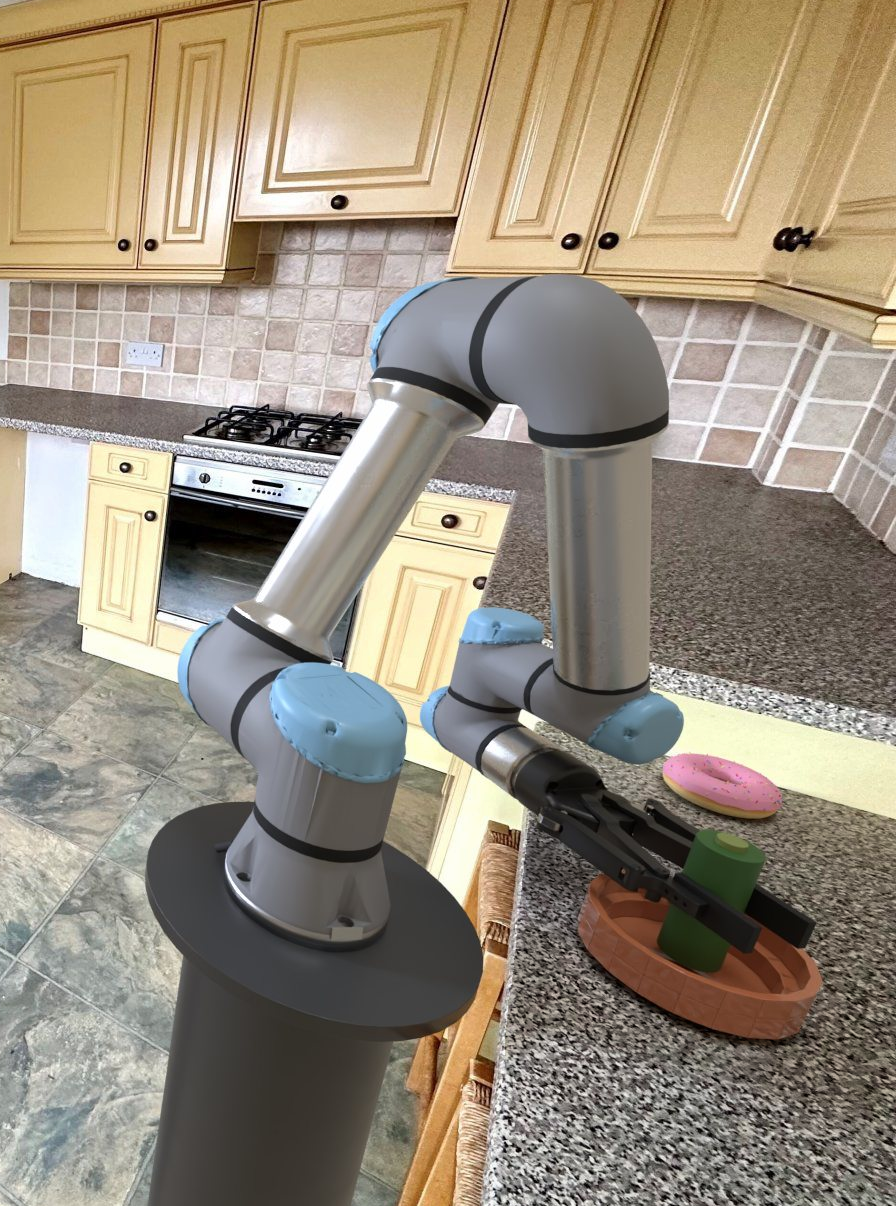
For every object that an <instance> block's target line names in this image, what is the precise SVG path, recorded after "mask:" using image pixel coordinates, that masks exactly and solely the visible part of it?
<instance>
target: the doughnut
mask: <svg viewBox="0 0 896 1206" xmlns="http://www.w3.org/2000/svg"><path fill="white" fill-rule="evenodd" d="M662 778H663V780H664V782H665V784H666V785H667V786H668V787H669V788H670V789H671V790H672V791H673V792H674V793H676V794H677V795H678V796H679V797H682V798H683V799H684V800H686V801H689V802H690V803H692V804H694V805H697V806H699V807H701V808H704V809H706V810H709V811H712V812H715V813H718V814H721V815H725V816H730V817H734V818H739V819H740V818H741V819H763V818H768V817H771V816H773V815H774V814H775V813H776V812H777V811H778V810H779V809H781V808H782V806H783V797H784V796H783V795H782V793H781V789H780V788H778V786H777V785H776V784H775V783H774V782H773V781H771V780H770V779H769V778H768V777H767V776H765V775H763V774H762V773H760V772H758V771H756V770H754V769H752V768H750V767H748V766H745V765H744V764H743V763H741V764H740V763H738V762H736V761H735V760H733V761H732V760H729V759H725V758H722V757H719V756H715V755H709V754H708V753H706V754H702V753H691V751H688V753H687V752H686V753H678V754H677V755H674V756H673V755H671V756H670V758H668V759H667V760H666V761H665V762H664V764H663V765H662Z"/></svg>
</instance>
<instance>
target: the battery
mask: <svg viewBox="0 0 896 1206" xmlns="http://www.w3.org/2000/svg"><path fill="white" fill-rule="evenodd" d="M766 860H767V856H766V853H764V852H763V851H762V849H760V848H759V847H758V846H756V845H755V844H753V843H751V842H750V841H748V840H745V839H744V838H741V837H740V836H737V835H734V834H732V833H728V832H723V831H719V830H713V829H701V830H700V831H698V832H697V834H696V836H695V839H694V841H693V844H692V847H691V849H690V852H689V855H688V858H687V860H686V863H685V866H684V868H683V869H682V870H681V873H684V874H685V875H687V876H688V877H690V878H691V879H692V880H694V881H695V882H697V883H698V884H700V885H701V886H703V887H704V888H706V889H707V890H709V891H710V892H712V893H713V894H715V895H716V896H718V897H719V898H720V899H722V900H723V901H725V902H726V903H728V904H729V905H731V906H732V907H734V908H735V909H737V910H738V911H740V912H741V913H743V914H744V911H745V909H746V907H747V904H748V902H749V899H750V897H751V895H752V892H753V890H754V887H755V885H756V884H757V883H758V881H759V878H760V875H761V872H762V870H763V868H764V866H765V863H766ZM657 944H658V946H659V948H660V949H661V950H662V951H663V952H664V953H665V954H666V955H667V956H669V957H670V958H672V959H673V960H675V961H676V962H678V963H680V964H682V965H684V966H686V967H689V968H691V969H694V970H697V971H701V972H707V973H714V972H718V971H719V970H720V969H721V967H722V965H723V962H724V960H725V957H726V955H727V953H728V950H729V948H730V945H731V944H730V943H728V942H727V941H725V940H724V939H723V938H721V937H720V936H718V935H717V934H716V933H714V932H713V931H712V930H710V929H709V928H707V927H706V926H705V925H703V924H702V923H700V922H699V921H698V920H696V919H695V918H693V917H691V916H689V915H688V914H686V913H684V912H683V911H682V910H680V909H679V908H678V907H676V906H675V905H673V904H672V903H670V906H669V908H668V911H667V914H666V916H665V919H664V922H663V924H662V927H661V930H660V932H659V935H658V938H657Z"/></svg>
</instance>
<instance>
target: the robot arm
mask: <svg viewBox="0 0 896 1206" xmlns="http://www.w3.org/2000/svg"><path fill="white" fill-rule="evenodd" d="M369 349H370V350H372V354H371V355H370V356H369V365H370V367H371V369H372V372H373V374H372V376H371V377H370V379H369V380H368V381H367V384H366V387H367V391H368V394H369V397H370V400H371V406H370V408H369V409H368V411H367V412H366V414H365V416H364V418H363V419H362V421H361V423H360V424H359V426H358V427H357V429H356V431H355V433H354V434H353V436H352V438H351V439H350V441H349V442H348V444H347V446H346V447H345V449H344V450H343V452H342V453H341V455H340V457H339V458H338V461H337V462H336V464H335V465H334V467H333V468H332V470H331V471H330V473H329V475H328V476H327V478H326V480H325V482H323V484H322V486H321V488H320V490H319V492H318V493H317V495H316V496H315V498H314V499H313V501H312V503H311V505H310V506H309V508H308V509H307V511H306V512H305V514H304V516H303V518H302V519H301V521H300V522H299V524H298V526H297V527H296V529H295V531H294V533H292V536H291V537H290V539H289V541H288V542H287V544H286V545H285V547H284V548H283V550H282V551H281V554H280V555H279V557H278V559H277V560H276V561H275V563H274V565H273V567H272V568H271V570H270V572H269V573H268V575H267V576H266V578H265V579H264V581H263V582H262V584H261V586H260V587H259V589H258V591H257V592H256V594H255V596H254V597H252V598H250V599H248V600H244V601H240V602H237V603H236V602H235V603H233V605H232V606H231V608H230V609H229V611H228V612H227V614H226V616H225V617H224V618H218V619H213V620H211V621H209V624H208V625H207V624H206V625H201V626H200V627H198V628H197V629H196V630H195V631H193V633H192V634H191V635H190V636H189V637H188V638H187V640H186V642H185V643H184V645H183V647H182V649H181V652H180V655H179V658H178V661H177V682H178V685H179V689H180V692H181V694H182V697H183V698H184V700H185V701H186V703H187V704H189V706H190V707H191V708H192V710H193V711H194V713H195V715H196V716H197V717H198V718H199V719H200V720H201V722H203V723H204V724H205V725H207V726H209V727H211V728H212V729H213V730H214V731H215V732H216V733H217V735H219V736H220V737H221V738H222V739H223V740H224V741H225V742H226V743H228V745H229V746H231V747H232V749H234V751H236V752H237V753H238V754H239V755H240V756H241V757H242V758H244V759H245V760H246V762H248V764H250V765H251V766H252V767H253V768H254V769H255V770H256V772H257V782H256V789H255V795H254V801H253V802H254V806H253V811H252V813H251V815H250V816H249V818H248V819H247V821H246V822H245V824H244V825H243V827H242V829H241V830H240V832H239V833H238V835H237V836H236V838H235V839H234V841H229V842H224V843H218V844H215V847H214V848H215V851H216V852H217V853H221V852H227V854H226V859H225V866H224V872H223V877H224V883H225V886H226V889H227V891H228V893H229V895H230V896H231V898H232V899H233V901H234V902H235V904H236V905H237V906H238V907H239V908H240V909H241V910H242V911H243V912H244V913H245V914H246V915H247V916H248V917H249V918H250V919H252V920H253V921H254V922H256V923H257V924H258V925H260V926H261V927H263V928H264V929H266V930H268V931H270V932H271V933H273V934H275V935H277V936H279V937H281V938H283V939H286V940H288V941H290V942H293V943H296V944H299V945H302V946H305V947H309V948H313V949H318V950H324V951H335V952H345V951H355V950H359V949H363V948H366V947H368V946H370V945H372V944H374V943H375V942H377V941H378V940H379V939H380V938H381V937H382V935H383V934H384V932H385V930H386V926H387V922H388V918H389V914H390V908H391V904H390V898H389V893H388V887H387V882H386V876H385V871H384V865H383V859H382V854H381V848H382V844H383V841H384V839H385V835H386V831H387V828H388V823H389V819H390V815H391V812H392V808H393V804H394V800H395V796H396V793H397V788H398V784H399V781H400V776H401V772H402V769H403V766H404V764H405V757H406V754H407V748H406V745H407V744H406V742H407V741H406V740H407V736H408V719H407V716H406V713H405V710H404V708H403V707H402V705H401V704H400V702H399V701H398V700H397V699H396V698H395V696H394V695H393V694H392V693H390V691H388V690H387V689H386V688H385V687H384V686H382V685H381V684H379V683H377V682H376V681H375V680H373V679H371V678H369V677H368V676H365V675H363V674H361V673H359V672H356V671H352V672H349V671H346V670H345V668H344V667H342V666H338V665H333V664H332V662H333V661H334V659H335V657H334V654H333V651H332V647H331V644H330V637H331V636H332V634H333V632H334V631H335V629H336V628H337V626H338V624H339V623H340V621H341V620H342V618H343V617H344V615H345V613H346V612H347V610H348V609H349V608H350V606H351V604H352V603H353V601H354V600H355V599H356V597H357V595H358V594H359V592H360V590H361V589H362V587H363V586H364V584H365V583H366V581H367V579H368V578H369V576H370V574H371V573H372V571H374V569H375V567H376V565H377V564H378V562H379V561H380V559H381V557H382V556H383V555H384V553H385V551H386V550H387V548H388V547H389V545H390V543H391V542H392V540H393V539H394V537H395V535H396V534H397V532H398V531H399V529H400V527H402V525H403V523H404V521H405V520H406V519H407V517H408V515H409V514H410V512H411V510H412V509H413V508H414V506H415V505H416V503H417V501H418V500H419V498H420V496H421V495H422V493H423V492H424V490H425V489H426V487H427V485H428V484H429V483H430V481H431V479H432V478H433V476H434V475H435V473H436V472H437V470H438V469H439V467H440V465H441V464H442V463H443V460H445V457H446V456H447V454H448V453H449V451H450V450H451V448H452V447H453V445H454V443H455V442H456V440H458V439H460V438H463V437H466V436H469V435H473V434H476V433H480V432H481V431H482V430H483V429H484V428H485V426H486V425H487V423H488V422H489V420H490V419H491V417H492V416H493V413H494V412H495V411H496V409H497V407H498V405H499V404H505V405H512V406H517V407H518V408H520V409H521V411H522V413H523V414H524V416H525V417H526V421H527V439H528V441H529V442H530V443H531V444H532V445H534V446H536V447H538V448H539V449H541V450H542V463H543V465H542V466H543V479H544V481H543V482H544V483H543V484H544V501H545V519H546V523H545V524H546V539H547V556H548V557H547V559H548V561H547V562H548V579H549V599H550V619H551V620H550V621H551V639H552V647H550V646H548V645H545V644H543V641H544V639H545V637H544V631H545V626H544V623H542V622H541V621H540V620H539V619H537V618H536V617H535V616H533V615H530V614H528V613H525V612H523V611H520V610H515V609H511V608H510V609H509V608H504V607H494V606H493V607H491V606H487V607H479V608H476V609H474V610H472V611H471V612H470V613H469V614H468V616H467V618H466V620H465V624H464V627H463V631H462V634H461V636H460V637H459V639H458V647H457V651H456V655H455V661H454V663H453V664H454V665H453V669H452V674H451V677H450V682H449V685H446V686H441V687H439V688H437V689H435V690H434V691H432V692H431V693H430V694H429V695H428V699H427V700H426V701H425V702H423V703H422V705H421V707H420V711H419V721H420V724H421V726H422V728H423V730H424V731H425V732H426V734H427V735H429V736H430V737H431V738H433V739H434V740H435V741H436V742H437V743H438V744H439V746H441V747H442V748H443V749H444V750H446V751H448V752H449V753H450V754H453V755H454V756H456V757H457V758H458V759H460V760H462V761H463V762H464V763H466V764H467V765H469V766H470V767H471V768H473V769H475V771H477V772H479V773H480V774H481V776H483V777H484V778H486V779H488V780H489V781H491V782H492V783H493V784H495V785H496V786H497V787H499V788H500V789H501V790H503V792H505V793H507V794H508V795H509V796H510V797H512V798H513V799H515V800H517V801H518V802H519V804H521V805H522V806H523V807H525V808H526V809H527V810H529V811H530V812H531V813H533V814H534V815H535V816H537V820H536V824H535V828H536V829H537V830H539V831H540V832H542V833H544V834H546V835H548V836H550V837H551V838H554V839H556V840H558V841H559V842H560V843H562V844H563V845H564V846H566V847H567V848H569V849H570V850H571V851H572V852H574V853H575V854H577V855H578V856H580V857H581V858H582V859H583V860H585V861H586V862H588V864H590V865H591V866H593V867H594V868H595V869H597V870H598V871H600V872H601V873H602V874H603V873H604V874H605V875H607V876H608V877H609V878H611V879H612V880H613V881H615V882H616V883H618V884H619V885H620V886H622V887H623V888H624V889H626V890H628V891H631V892H638V889H639V888H641V889H645V890H646V894H645V896H644V898H646V899H647V900H649V901H652V902H656V903H658V902H660V900H661V897H664V898H665V899H666V900H668V901H669V902H671V903H672V904H673V905H675V906H676V907H678V908H679V909H680V910H682V911H683V912H684V913H686V914H688V915H689V916H691V917H693V918H695V919H696V920H698V921H699V922H700V923H702V924H703V925H705V926H706V927H707V928H709V929H710V930H712V931H713V932H714V933H716V934H717V935H718V936H720V937H721V938H723V939H724V940H725V941H727V942H728V943H730V944H731V945H732V946H734V947H735V948H736V949H738V950H739V951H741V952H742V953H743V954H747V953H752V951H753V949H754V947H755V944H756V942H757V940H758V937H759V935H760V933H761V930H762V928H763V927H762V926H760V925H759V924H757V923H756V922H754V921H753V920H751V919H750V918H748V917H747V916H746V915H744V914H743V913H741V912H740V911H738V910H737V909H735V908H734V907H732V906H731V905H729V904H728V903H726V902H725V901H723V900H722V899H720V898H719V897H718V896H716V895H715V894H713V893H712V892H710V891H709V890H707V889H706V888H704V887H703V886H701V885H700V884H698V883H697V882H695V881H694V880H692V879H691V878H690V877H688V876H687V875H685V874H684V873H682V872H675V873H674V874H673V877H671V871H670V870H669V869H668V868H667V867H666V866H664V865H663V864H662V863H661V862H660V861H659V860H658V859H657V858H656V857H654V856H653V854H655V855H656V856H659V857H660V858H662V859H664V860H666V861H668V862H669V863H671V864H674V865H675V866H677V867H678V868H680V869H682V870H683V868H684V866H685V863H686V860H687V858H688V855H689V852H690V849H691V847H692V844H693V841H694V839H695V836H696V834H697V832H698V831H701V830H700V829H698V828H697V827H695V826H693V825H692V824H690V823H688V822H687V821H686V820H684V819H682V818H681V817H680V816H677V815H676V814H675V813H673V812H671V811H670V810H669V808H667V807H666V805H664V804H663V803H662V802H661V801H659V800H657V799H655V798H647V799H646V800H645V804H641V803H634V802H631V801H630V800H629V799H628V798H626V797H624V796H622V795H620V794H617V793H615V792H612V791H611V790H608V788H607V787H606V785H605V783H604V781H603V779H602V777H601V775H600V773H599V772H598V771H597V770H596V769H595V768H594V767H592V766H591V765H589V764H587V763H585V762H584V761H582V760H581V759H579V758H577V757H576V756H574V755H573V754H571V753H570V752H567V751H565V750H564V748H562V747H560V746H559V745H557V744H556V743H554V742H552V741H550V740H549V739H547V738H545V737H544V736H542V735H541V734H538V733H537V732H535V731H533V730H532V729H531V728H529V727H527V725H524V724H523V723H521V722H520V721H519V718H520V715H521V712H522V710H523V711H525V712H526V713H529V714H531V715H532V716H535V717H537V718H538V719H540V720H542V721H544V722H546V723H547V724H549V725H551V726H553V727H555V728H556V729H557V730H560V731H561V732H564V733H565V734H567V735H569V736H570V737H572V738H574V739H576V740H578V741H580V742H581V743H583V744H585V745H587V746H588V747H589V748H591V749H593V750H596V751H599V752H601V753H603V754H605V755H608V756H610V757H612V758H614V759H616V760H619V761H621V762H624V763H626V764H630V765H645V764H649V763H652V762H653V761H655V760H657V759H661V758H662V757H664V756H665V755H666V754H668V752H670V751H671V750H672V749H673V747H674V746H675V745H676V744H677V743H678V741H679V739H680V737H681V735H682V732H683V730H684V726H685V725H684V724H685V717H684V713H683V712H682V711H681V709H680V708H679V706H678V705H677V703H675V702H674V701H672V700H670V699H668V698H667V697H665V696H664V694H662V693H659V692H656V691H653V690H651V671H650V667H651V665H650V661H651V660H650V656H651V655H650V654H651V651H650V650H651V584H652V583H651V582H652V581H651V580H652V579H651V577H652V576H651V573H652V571H651V570H652V505H653V504H652V500H653V499H652V496H653V495H652V494H653V493H652V492H653V491H652V490H653V487H652V485H653V441H654V440H655V439H657V438H658V437H660V436H661V435H663V434H664V433H665V432H666V431H667V429H668V428H669V425H670V424H669V423H670V391H669V384H668V380H667V374H666V369H665V365H664V363H663V359H662V357H661V354H660V351H659V348H658V346H657V343H656V342H655V339H654V337H653V335H652V333H651V331H650V329H649V328H648V326H647V325H646V323H645V321H644V320H643V318H642V317H641V316H640V314H639V312H637V311H636V310H635V309H634V308H633V306H632V305H631V304H630V303H629V301H628V300H627V299H626V298H625V297H623V296H622V295H620V294H619V293H618V292H616V291H615V290H614V289H613V288H611V287H610V286H607V285H606V284H604V283H602V282H600V281H597V280H594V279H592V278H589V277H586V276H581V275H578V274H577V275H576V274H567V273H551V274H550V273H549V274H543V275H527V276H500V277H477V276H456V277H455V276H454V277H450V278H446V279H443V280H436V281H430V282H426V283H423V284H421V285H418V286H415V287H413V288H411V289H409V290H408V291H406V292H405V293H403V294H402V295H401V296H399V297H397V299H396V300H394V302H392V303H391V305H390V306H389V307H388V308H387V309H386V310H385V311H384V313H383V314H382V315H381V317H380V318H379V320H378V322H377V323H376V326H375V328H374V330H373V332H372V335H371V339H370V343H369ZM648 851H649V852H648ZM650 852H651V853H653V854H651V853H650ZM622 871H625V874H623V873H622ZM744 913H745V914H747V915H748V916H750V917H751V918H753V919H754V920H756V921H757V922H758V923H760V924H761V925H763V926H764V927H766V928H767V929H769V930H770V931H772V932H773V933H775V934H776V935H778V936H779V937H781V938H782V939H784V940H785V941H787V942H788V943H790V944H791V945H793V946H794V947H795V948H797V949H802V948H803V949H806V948H807V946H808V943H809V941H810V939H811V936H812V935H813V933H814V930H815V927H816V925H817V924H818V922H817V921H816V920H814V919H812V918H811V917H809V916H808V915H807V914H804V913H803V912H801V911H799V909H797V908H795V907H794V906H792V905H790V904H789V903H787V902H786V901H784V900H782V899H781V898H779V897H778V896H776V895H775V894H774V893H772V892H770V891H769V890H767V888H765V887H763V886H761V885H759V884H758V883H756V885H755V887H754V890H753V892H752V895H751V897H750V899H749V902H748V904H747V907H746V909H745V911H744Z"/></svg>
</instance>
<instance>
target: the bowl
mask: <svg viewBox="0 0 896 1206" xmlns="http://www.w3.org/2000/svg"><path fill="white" fill-rule="evenodd" d="M622 873H623V874H625V870H622ZM645 894H646V890H645V889H641V888H639V889H638V892H631V891H628V890H626V889H624V888H623V887H622V886H620V885H619V884H618V883H616V882H615V881H613V880H612V879H611V878H609V877H608V876H607V875H605V874H604V873H603V872H602V873H600V874H598V875H597V876H596V877H595V878H594V879H593V880H592V881H590V882H589V884H588V887H587V889H586V892H585V896H584V898H583V901H582V904H581V907H580V910H579V913H578V916H577V933H578V936H579V937H580V939H581V941H582V942H583V944H584V946H585V948H586V950H587V951H588V952H589V953H590V955H592V957H593V958H595V959H596V961H597V962H598V963H599V964H600V965H601V966H602V967H603V968H604V969H605V970H606V971H607V972H608V973H610V974H611V975H612V976H614V977H615V978H616V979H617V980H619V981H620V982H622V983H623V985H626V986H627V987H628V988H629V989H631V990H632V991H633V992H635V993H637V994H638V995H640V996H641V997H642V998H644V999H646V1000H648V1001H649V1002H651V1003H652V1004H654V1005H656V1006H657V1007H660V1008H661V1009H664V1010H665V1011H668V1012H670V1013H672V1014H673V1015H676V1016H678V1017H681V1018H683V1019H685V1020H687V1021H690V1022H692V1023H695V1024H698V1025H699V1026H703V1027H705V1028H708V1029H711V1030H715V1031H719V1032H723V1033H727V1034H731V1035H735V1036H739V1037H742V1038H745V1039H746V1038H747V1039H760V1040H762V1039H763V1040H782V1039H785V1038H787V1037H790V1036H793V1035H796V1034H798V1033H799V1032H800V1030H801V1029H802V1026H803V1024H804V1022H805V1020H806V1018H807V1016H808V1014H809V1012H810V1010H811V1008H812V1006H813V1004H814V1001H815V1000H816V997H817V995H818V993H819V991H820V989H821V987H822V985H823V978H822V976H821V973H820V971H819V968H818V965H817V963H816V962H815V961H814V960H813V959H812V957H811V955H809V954H808V953H807V952H806V950H805V949H804V948H802V949H797V948H795V947H794V946H793V945H791V944H790V943H788V942H787V941H785V940H784V939H782V938H781V937H779V936H778V935H776V934H775V933H773V932H772V931H770V930H769V929H767V928H766V927H764V926H763V925H761V924H760V923H758V922H757V921H756V920H754V919H753V918H751V917H750V916H748V915H747V914H745V913H744V915H746V916H747V917H748V918H750V919H751V920H753V921H754V922H756V923H757V924H759V925H760V926H762V927H763V928H762V930H761V933H760V935H759V937H758V940H757V942H756V944H755V947H754V949H753V951H752V953H747V954H743V953H742V952H741V951H739V950H738V949H736V948H735V947H734V946H732V945H730V948H729V950H728V953H727V955H726V957H725V960H724V962H723V965H722V967H721V969H720V970H719V971H718V972H714V973H707V972H701V971H697V970H694V969H691V968H689V967H686V966H684V965H682V964H680V963H678V962H676V961H675V960H673V959H672V958H670V957H669V956H667V955H666V954H665V953H664V952H663V951H662V950H661V949H660V948H659V946H658V944H657V938H658V935H659V932H660V930H661V927H662V924H663V922H664V919H665V916H666V914H667V911H668V908H669V906H670V903H671V902H669V901H668V900H666V899H665V898H664V897H661V900H660V902H658V903H656V902H652V901H649V900H647V899H646V898H644V896H645Z"/></svg>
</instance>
